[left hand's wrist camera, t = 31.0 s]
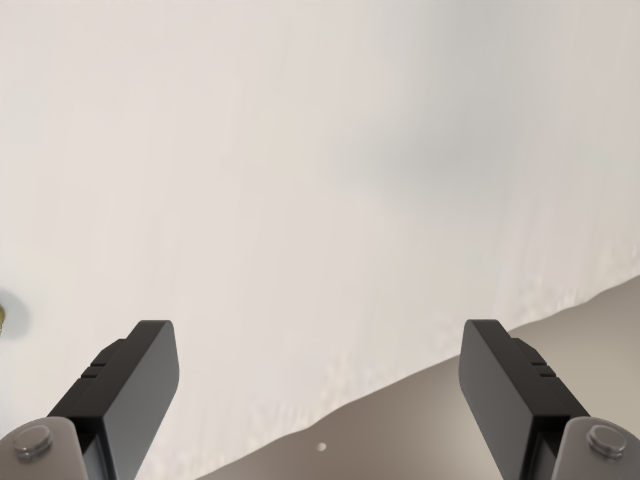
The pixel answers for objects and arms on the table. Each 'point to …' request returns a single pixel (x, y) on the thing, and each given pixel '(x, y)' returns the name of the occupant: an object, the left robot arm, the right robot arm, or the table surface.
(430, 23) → the table surface
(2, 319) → the cup
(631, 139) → the table surface
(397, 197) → the table surface
